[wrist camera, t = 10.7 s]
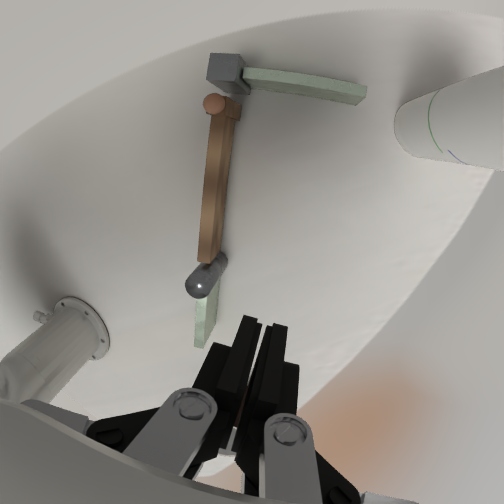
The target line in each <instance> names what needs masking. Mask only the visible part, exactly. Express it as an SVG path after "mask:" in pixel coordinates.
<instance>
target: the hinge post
mask: <svg viewBox="0 0 504 504" xmlns="http://www.w3.org/2000/svg"><path fill="white" fill-rule="evenodd" d="M227 264H228V259H227V257H226V255H225V254H224V253H223V252H221V251H219V253H218V254H217V255H216V256H215V258H214V259H213V260H212V261H211V263H210V264H209V263H203V262H201V263H200V265H199V266H198V267H197V268H196V269H195V270H194V271H193V273H192V274H191V275H190V276H189V277H188V278H187V280H186V282H185V288H186V290H187V292H188V293H189V295H191V296H192V297H194V298H196V299H197V302H196V318H195V337H194V347H198V348H202V349H203V348H204V346H205V344H206V342H207V340H208V338H209V336H210V334H211V332H212V330H213V328H214V326H215V323H216V312H217V302H218V292H219V282H220V276H221V274H222V273H223V271H224V270H225V268H226V267H227Z"/></svg>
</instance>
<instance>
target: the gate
mask: <svg viewBox="0 0 504 504" xmlns="http://www.w3.org/2000/svg"><path fill="white" fill-rule="evenodd" d="M203 106H204V109H205V110H206V113H207V114H210V115H212V117H211V125H210V133H209V141H208V150H207V158H206V168H205V177H204V187H203V197H202V208H201V220H200V232H199V245H198V258H197V261H198V262H203V263H209V264H210V263H211V261H212V260H213V259H214V258H215V256H216V255H217V254H218V253H219V251H220V246H221V237H222V227H223V218H224V208H225V199H226V190H227V182H228V173H229V165H230V156H231V148H232V140H233V133H234V125H235V120H237V121H240V113H241V105H239V104H238V103H236V102H235V101H233V100H232V99H230V98H229V97H227V96H221V95H220V94H217V93H212V94H209V95H208V96H207V97H206V98H205V99H204V102H203Z"/></svg>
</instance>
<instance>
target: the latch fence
mask: <svg viewBox="0 0 504 504" xmlns="http://www.w3.org/2000/svg"><path fill="white" fill-rule="evenodd" d="M206 80H208V81H209V82H211V83H212V84H214V85H215V86H217V87H218V88H220V89H221V90H223V91H224V92H226V93H232V94H244V95H250V90H251V88H252V89H258V90H267V91H276V92H283V93H290V94H297V95H303V96H310V97H315V98H321V99H326V100H332V101H337V102H342V103H346V104H351V105H355V106H356V105H357V104H358V103H360V102H361V101H362V100H363V99H365V98H366V91H367V86H364V85H360V84H355V83H351V82H346V81H341V80H336V79H331V78H326V77H320V76H314V75H308V74H302V73H295V72H288V71H280V70H271V69H262V68H251V67H248V65H247V64H246V62H245V61H244V60H243V58H242V57H241V56H240V54H226V53H210V59H209V65H208V71H207V77H206Z"/></svg>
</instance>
